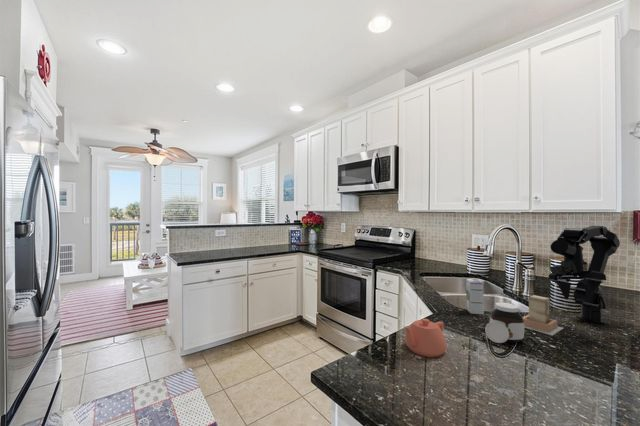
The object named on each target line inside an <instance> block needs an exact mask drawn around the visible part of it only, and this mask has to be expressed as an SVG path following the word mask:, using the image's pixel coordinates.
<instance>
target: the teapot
mask: <svg viewBox="0 0 640 426" xmlns="http://www.w3.org/2000/svg"><path fill="white" fill-rule="evenodd" d="M444 327H445V324H444V322H443V321H440V320H439V321H437V322H432V321H430V319H428V318H422V319H419V320H415V321H412V323H411V324H410V325H409V326H403V328H404V329H405V339H404V340H405V344H406V346H407V347H408V349H409V350H410V351H411V352H413V353H414V354H416V355H419V356H422V357H425V358H427V357H428V358H437V357H440V356H442V355H443V354H444V353H446V351H447V349H448V348H447V341H446V337H445V335H444V333H443V330H444Z"/></svg>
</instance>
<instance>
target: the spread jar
mask: <svg viewBox="0 0 640 426" xmlns="http://www.w3.org/2000/svg"><path fill="white" fill-rule="evenodd" d="M494 305H495V308H494V309H493V310H492V311H490V314H489V322H488V323H487V324H486V325H485V328H484V329H485V335H486V337H487V338H488V339H489V340H490V341H492V342H493V343H496V344H497V343H498V344H503V343H505V342H506V343H514V344H515V343H518V342H520V341H522V340H523V339H524V337H525V328H524V320H523V318H522V317H523V316H522V315H521V313H520V312H519V306H518V305H517V304H516V305H515V304H513V303H509V302H495V304H494Z"/></svg>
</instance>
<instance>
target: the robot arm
mask: <svg viewBox="0 0 640 426" xmlns="http://www.w3.org/2000/svg"><path fill="white" fill-rule="evenodd" d="M587 242H589V243H590V247H591V249H592V250H593V253H592V257H591V260H590V263H589V266H588V269H587V270H585V266H587V265H588V264H587V261H584V254H583V250H584V247H583V246H582V245H583V244H586V243H587ZM620 246H621V243H620V239H619V238H618V236H617V234H615V233H614V232H613V231H611V230H609V229H608V228H607V227H606V226H604V225H590V226H588V227H582V228H573V227H572V228H571V227H569V228H567V227H565V228H564V229H563V230H562V231H561V232H560V234H559V235H558V237H557V239H556V240H554V241H552V243H551V244H550V250H551V251H552V253H555V254H557V255H559V256H562V257H563V260H561V261H560V264H558V265H552V266H549V270H550V272H551V273H550V274H549V275H548V280H549V281H551V282H552V283H554V284H555V285H557V286H558V288H559V290H560V292H561V294H562V295H563V298H564V299H565V300H569V297H570V292H571V287H572V282H570V281H571V280H580V281H578V282H577V283H576V286H575V288H574V290H573V297H574V303H575V304H577V305H580V315H576V318H578V319H581V320H582V321H584V322H585V323H593V324H594V323H596V324H606V322H605V321H603V320H602V312H601V311H602V310H607V306H608V302H607V300H606V299H605V297H604V292H603V290H602V287H601V284H604V281H607V275H606V273H605V269H606V267H607V263H608V261H609V257H610V256H612V255H613V254H615V253H616V252H617V251H618V248H619V247H620Z"/></svg>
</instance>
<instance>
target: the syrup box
mask: <svg viewBox="0 0 640 426" xmlns="http://www.w3.org/2000/svg"><path fill="white" fill-rule="evenodd" d="M465 280H466V282H465V289H466V291H465V295H466V296H465V297H466V298H465V299H466V301H465V303H466V304H465V307H466V308H465V309H466V311H467V312H468V313H469V314H471V315H484V313H485V312H484V310H485V309H484V306H485V305H484V281H482V280H481V279H479V278H466V279H465Z"/></svg>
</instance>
